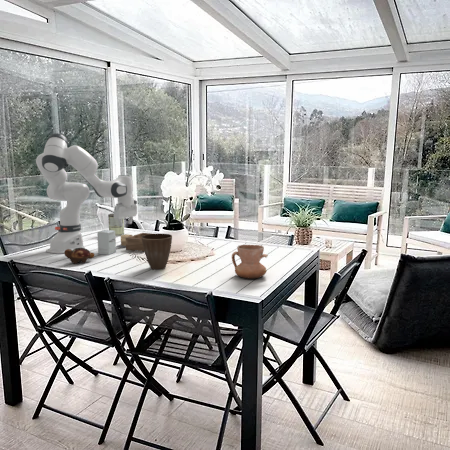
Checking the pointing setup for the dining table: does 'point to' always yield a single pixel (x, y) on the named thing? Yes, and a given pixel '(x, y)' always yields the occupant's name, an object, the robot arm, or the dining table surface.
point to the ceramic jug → (249, 261)
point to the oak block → (124, 239)
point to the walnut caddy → (135, 242)
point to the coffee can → (115, 225)
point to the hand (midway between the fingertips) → (125, 225)
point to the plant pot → (157, 249)
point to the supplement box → (106, 242)
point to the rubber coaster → (121, 246)
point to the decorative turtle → (78, 255)
